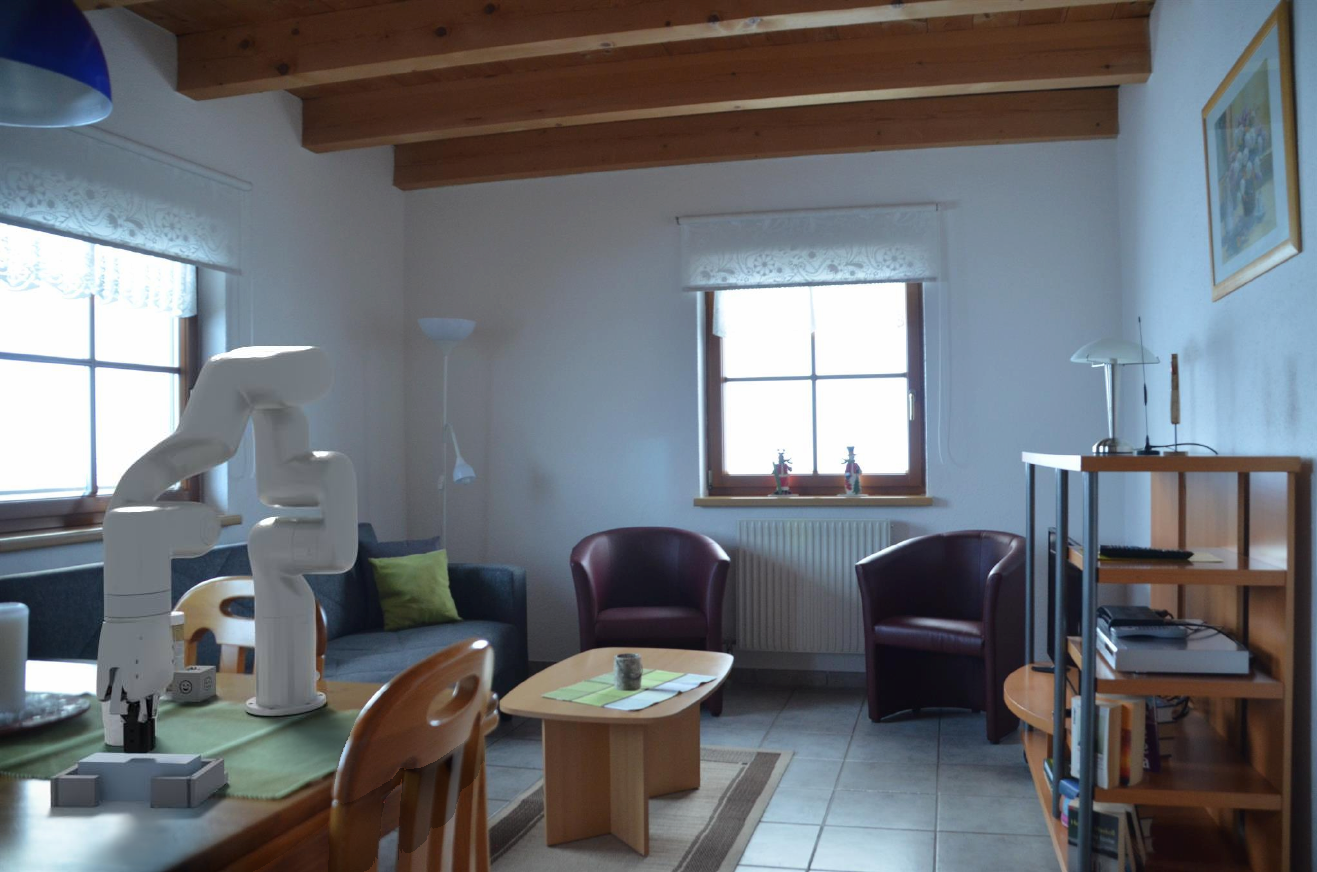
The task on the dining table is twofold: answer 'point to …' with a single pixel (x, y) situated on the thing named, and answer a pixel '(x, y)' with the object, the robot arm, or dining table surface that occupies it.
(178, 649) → the sprinkles bottle
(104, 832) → the dining table surface
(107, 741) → the white cup
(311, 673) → the robot arm
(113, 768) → the blue rectangular block
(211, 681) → the grey smiley face cube
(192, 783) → the grey rectangular holder
